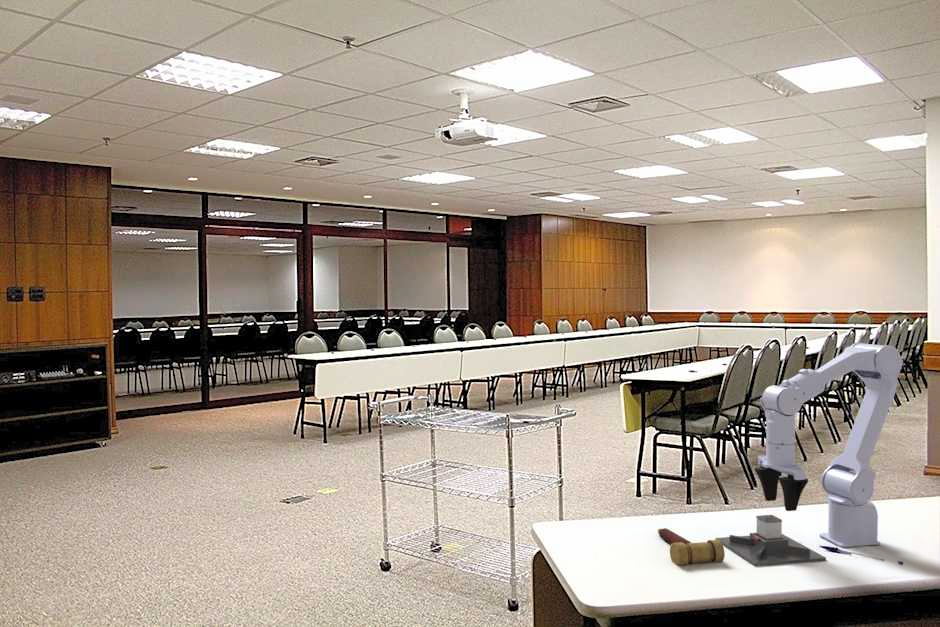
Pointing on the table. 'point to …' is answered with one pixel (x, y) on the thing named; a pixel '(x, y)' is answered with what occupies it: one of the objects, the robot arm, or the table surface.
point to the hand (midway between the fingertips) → (780, 505)
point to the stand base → (769, 550)
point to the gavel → (692, 549)
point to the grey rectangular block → (769, 527)
